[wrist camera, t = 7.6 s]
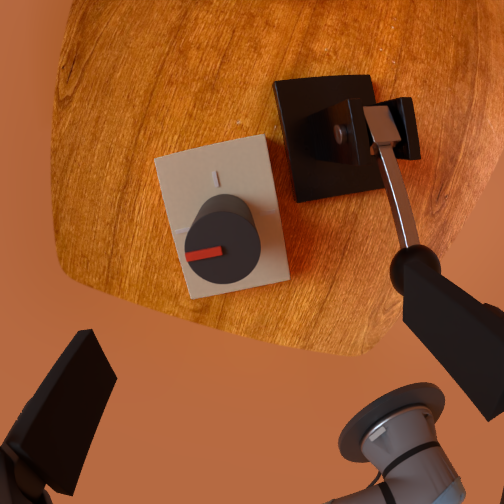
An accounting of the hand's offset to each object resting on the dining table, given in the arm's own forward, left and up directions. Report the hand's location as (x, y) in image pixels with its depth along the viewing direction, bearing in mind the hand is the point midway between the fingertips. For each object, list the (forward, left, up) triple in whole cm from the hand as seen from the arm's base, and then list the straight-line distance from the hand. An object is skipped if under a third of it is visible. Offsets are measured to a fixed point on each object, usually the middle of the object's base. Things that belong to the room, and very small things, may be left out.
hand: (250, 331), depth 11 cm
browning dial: (+1, +1, -17) cm, 17 cm away
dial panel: (+1, +1, -20) cm, 20 cm away
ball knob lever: (+1, -11, -9) cm, 14 cm away
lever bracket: (+7, -11, -20) cm, 24 cm away
